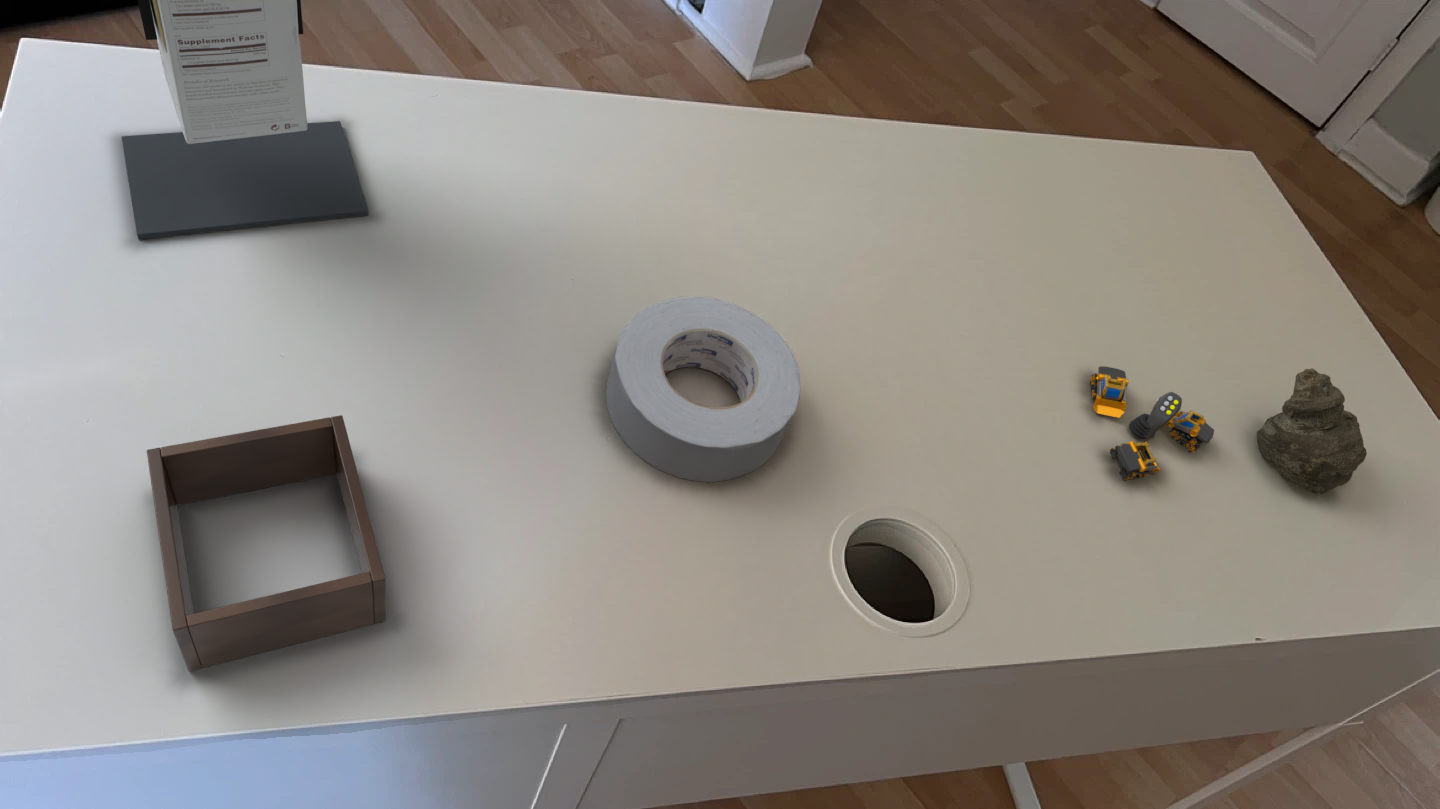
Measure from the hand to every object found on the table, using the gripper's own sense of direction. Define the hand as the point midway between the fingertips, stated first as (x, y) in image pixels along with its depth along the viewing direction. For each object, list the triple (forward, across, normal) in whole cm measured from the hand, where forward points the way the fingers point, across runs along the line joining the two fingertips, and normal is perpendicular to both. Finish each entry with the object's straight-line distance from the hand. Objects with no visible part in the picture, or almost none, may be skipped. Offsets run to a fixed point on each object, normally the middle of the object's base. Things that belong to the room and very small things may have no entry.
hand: (224, 26), depth 80 cm
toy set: (+15, -69, +45) cm, 84 cm away
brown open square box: (+15, +4, +38) cm, 41 cm away
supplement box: (+7, 0, 0) cm, 7 cm away
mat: (+15, 0, 0) cm, 15 cm away
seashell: (+15, -85, +53) cm, 101 cm away
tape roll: (+15, -30, +32) cm, 46 cm away
